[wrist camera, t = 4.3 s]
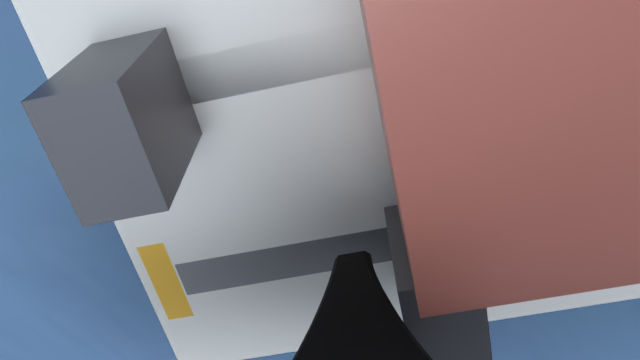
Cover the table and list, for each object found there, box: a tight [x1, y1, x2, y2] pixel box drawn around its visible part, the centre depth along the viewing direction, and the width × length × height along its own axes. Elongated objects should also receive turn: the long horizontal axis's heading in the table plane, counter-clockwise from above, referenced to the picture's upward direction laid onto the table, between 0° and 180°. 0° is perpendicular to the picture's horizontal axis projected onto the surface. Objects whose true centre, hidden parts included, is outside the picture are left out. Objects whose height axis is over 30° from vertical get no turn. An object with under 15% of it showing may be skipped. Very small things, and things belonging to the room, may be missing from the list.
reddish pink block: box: [359, 0, 640, 318], centre depth 10 cm, size 6×6×5 cm
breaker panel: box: [11, 0, 640, 360], centre depth 12 cm, size 18×11×4 cm, turn 102°
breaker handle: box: [384, 205, 492, 360], centre depth 13 cm, size 2×2×3 cm
